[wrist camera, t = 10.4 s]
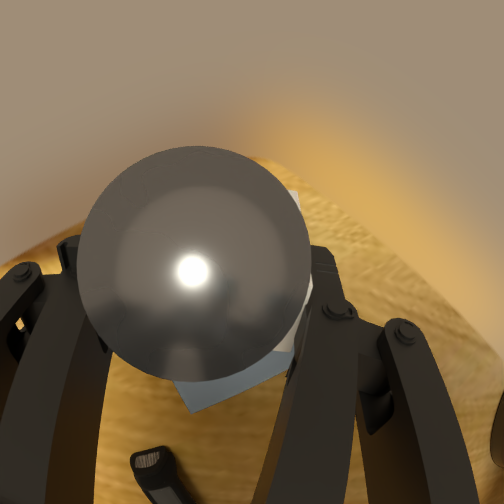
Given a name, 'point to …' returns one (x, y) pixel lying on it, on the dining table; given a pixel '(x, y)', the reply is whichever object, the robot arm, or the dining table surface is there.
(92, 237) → the ball
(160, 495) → the electric trimmer
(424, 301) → the dining table surface
